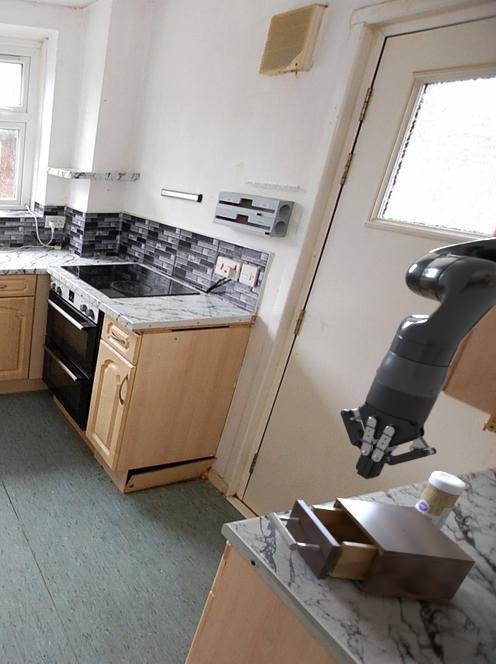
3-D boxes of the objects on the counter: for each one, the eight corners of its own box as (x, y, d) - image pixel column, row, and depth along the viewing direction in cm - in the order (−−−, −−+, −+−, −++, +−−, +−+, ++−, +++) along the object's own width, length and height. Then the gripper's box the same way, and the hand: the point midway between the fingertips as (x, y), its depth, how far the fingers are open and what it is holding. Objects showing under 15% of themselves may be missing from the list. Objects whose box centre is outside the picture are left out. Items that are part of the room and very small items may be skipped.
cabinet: (362, 592, 74) (384, 550, 71) (319, 536, 85) (336, 497, 82) (449, 603, 73) (475, 561, 70) (394, 546, 84) (415, 507, 81)
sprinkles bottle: (397, 527, 89) (426, 471, 84) (414, 524, 90) (444, 469, 85) (423, 546, 85) (455, 488, 80) (440, 543, 86) (473, 485, 81)
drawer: (286, 575, 75) (301, 541, 72) (255, 527, 84) (267, 495, 82) (396, 589, 74) (415, 555, 71) (352, 539, 84) (367, 507, 81)
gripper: (475, 402, 65) (425, 498, 72) (375, 362, 77) (338, 448, 83) (445, 408, 63) (396, 508, 69) (346, 366, 74) (310, 455, 80)
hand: (364, 475), depth 76 cm, fingers closed
